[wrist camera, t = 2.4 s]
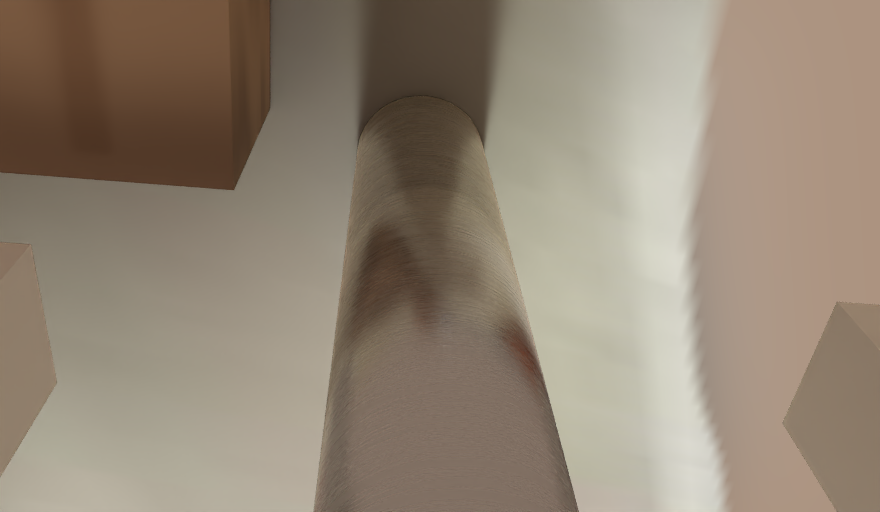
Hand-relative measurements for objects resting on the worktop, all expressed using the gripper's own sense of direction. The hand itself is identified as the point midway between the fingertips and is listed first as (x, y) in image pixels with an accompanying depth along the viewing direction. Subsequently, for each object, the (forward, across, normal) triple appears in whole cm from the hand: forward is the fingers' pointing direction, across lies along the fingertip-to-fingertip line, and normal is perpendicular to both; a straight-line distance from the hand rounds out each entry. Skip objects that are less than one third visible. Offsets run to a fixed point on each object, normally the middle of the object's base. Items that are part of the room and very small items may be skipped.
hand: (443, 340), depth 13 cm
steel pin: (+9, 0, 0) cm, 9 cm away
